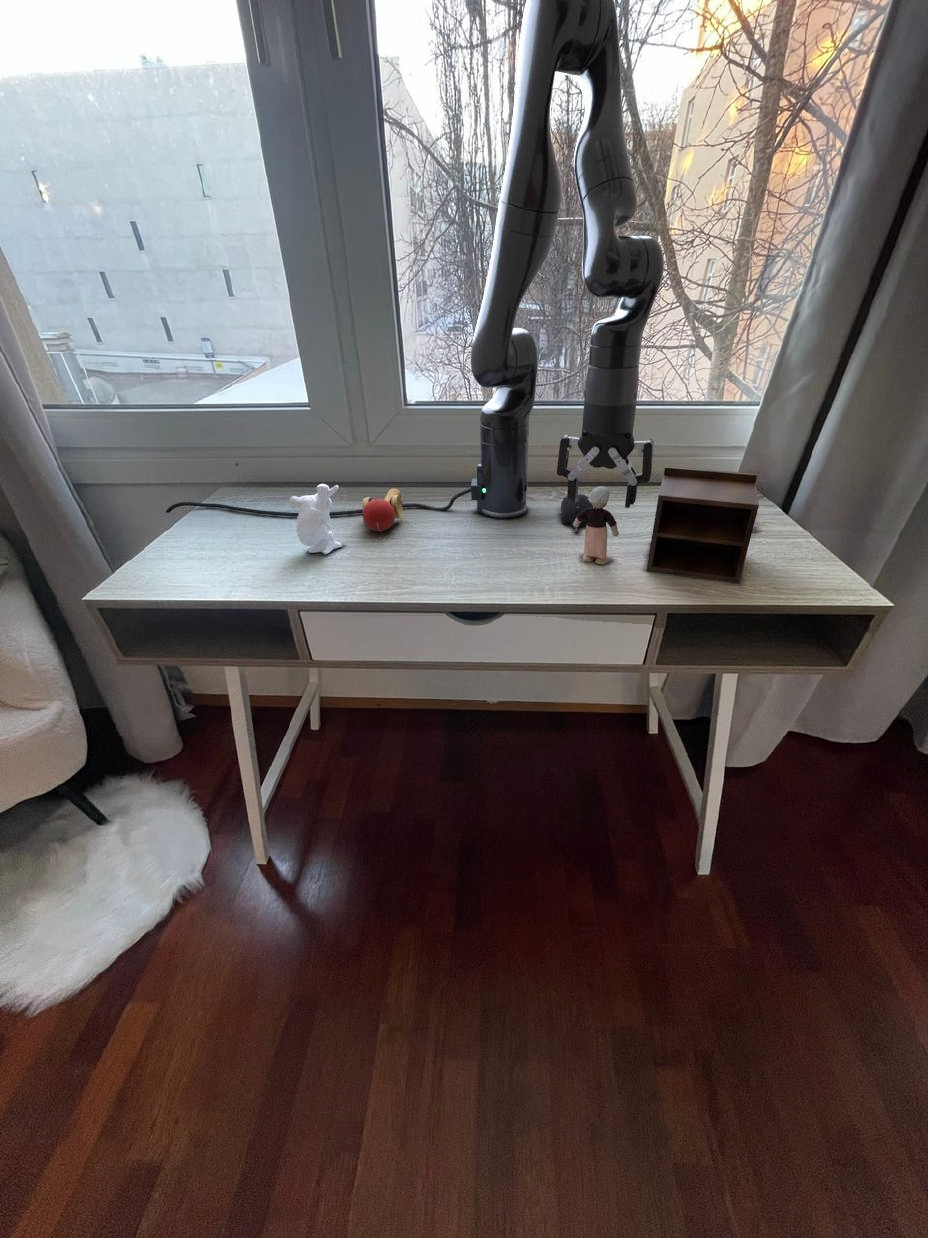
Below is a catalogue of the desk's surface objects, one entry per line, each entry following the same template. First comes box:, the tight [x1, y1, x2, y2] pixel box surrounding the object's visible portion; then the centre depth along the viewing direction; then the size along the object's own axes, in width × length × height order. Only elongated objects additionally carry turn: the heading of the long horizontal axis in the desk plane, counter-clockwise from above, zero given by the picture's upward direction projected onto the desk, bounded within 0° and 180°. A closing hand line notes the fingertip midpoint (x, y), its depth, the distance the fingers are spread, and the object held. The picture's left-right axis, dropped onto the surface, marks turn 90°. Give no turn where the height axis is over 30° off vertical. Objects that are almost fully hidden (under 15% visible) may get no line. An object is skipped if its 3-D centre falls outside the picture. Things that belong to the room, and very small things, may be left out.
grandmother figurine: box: [572, 485, 620, 565], centre depth 97 cm, size 8×4×13 cm, turn 71°
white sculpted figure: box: [289, 483, 343, 555], centre depth 102 cm, size 8×7×12 cm
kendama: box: [362, 487, 404, 533], centre depth 116 cm, size 8×6×18 cm
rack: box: [646, 465, 760, 584], centre depth 95 cm, size 14×11×14 cm
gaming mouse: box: [560, 494, 594, 535], centre depth 114 cm, size 6×15×4 cm, turn 171°
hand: (600, 503), depth 95 cm, fingers open, 8 cm apart
